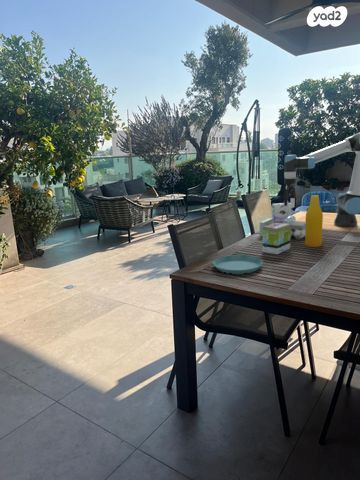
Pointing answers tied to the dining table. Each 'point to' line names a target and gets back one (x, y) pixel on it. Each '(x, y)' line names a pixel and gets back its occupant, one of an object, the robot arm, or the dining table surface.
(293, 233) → the roller bed
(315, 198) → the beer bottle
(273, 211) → the candy box
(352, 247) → the dining table surface
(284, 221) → the roller
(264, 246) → the tea box
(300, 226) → the stone slab
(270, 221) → the block
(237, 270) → the saucer
